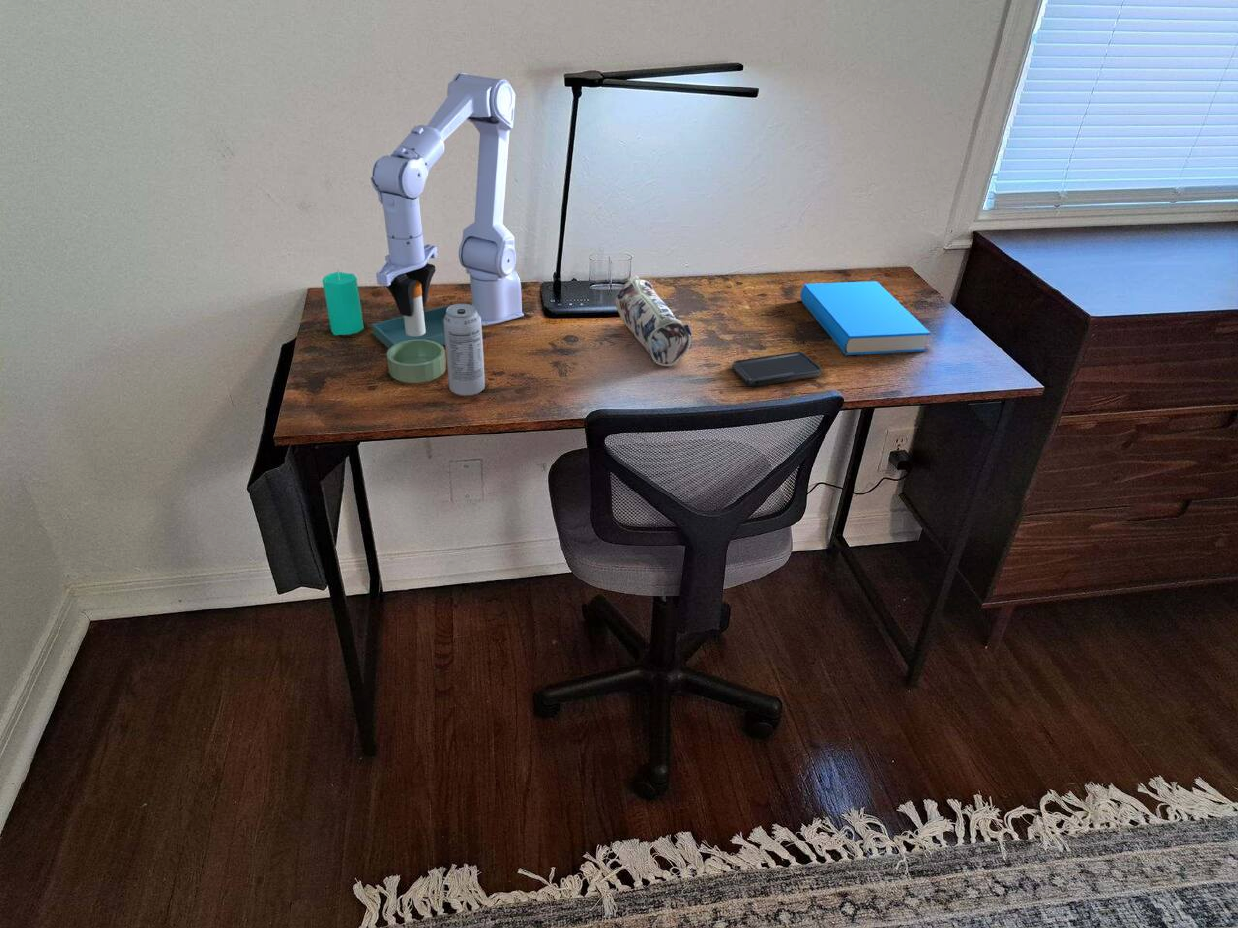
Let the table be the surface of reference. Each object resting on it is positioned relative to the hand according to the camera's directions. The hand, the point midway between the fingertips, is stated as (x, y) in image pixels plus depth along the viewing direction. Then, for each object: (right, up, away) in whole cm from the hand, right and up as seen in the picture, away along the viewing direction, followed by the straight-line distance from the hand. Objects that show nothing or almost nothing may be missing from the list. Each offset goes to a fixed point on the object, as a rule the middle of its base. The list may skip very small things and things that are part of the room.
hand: (413, 310), depth 145 cm
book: (+84, +2, +26) cm, 88 cm away
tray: (-1, -2, +14) cm, 15 cm away
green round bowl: (0, -10, +3) cm, 11 cm away
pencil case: (+41, -3, +16) cm, 45 cm away
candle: (-16, -1, +16) cm, 23 cm away
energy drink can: (+10, -14, -1) cm, 17 cm away
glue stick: (0, -3, +2) cm, 4 cm away
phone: (+64, -10, +8) cm, 65 cm away
